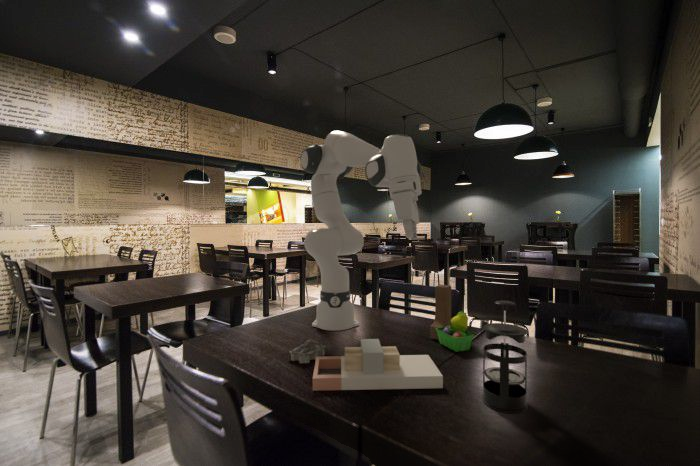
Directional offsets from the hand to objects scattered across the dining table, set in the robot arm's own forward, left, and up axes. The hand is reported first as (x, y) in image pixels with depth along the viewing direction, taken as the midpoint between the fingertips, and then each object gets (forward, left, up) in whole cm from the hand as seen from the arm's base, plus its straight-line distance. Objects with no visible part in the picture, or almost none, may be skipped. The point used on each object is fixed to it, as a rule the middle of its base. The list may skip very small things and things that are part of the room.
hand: (411, 238), depth 97 cm
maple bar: (+5, -12, -33) cm, 36 cm away
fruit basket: (-17, +18, -37) cm, 44 cm away
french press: (+19, +17, -37) cm, 45 cm away
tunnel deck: (+5, -11, -36) cm, 38 cm away
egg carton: (-10, -30, -37) cm, 48 cm away
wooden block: (-27, +16, -37) cm, 48 cm away
